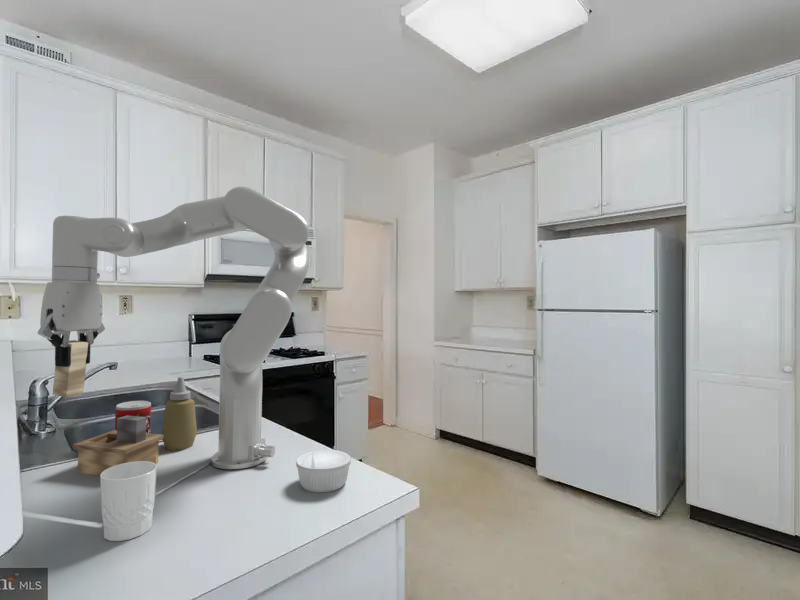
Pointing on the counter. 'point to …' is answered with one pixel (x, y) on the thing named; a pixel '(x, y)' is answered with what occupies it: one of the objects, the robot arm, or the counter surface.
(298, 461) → the ramekin
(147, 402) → the canned food
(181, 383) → the squeeze bottle
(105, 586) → the counter surface
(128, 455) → the toolbox
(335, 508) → the counter surface
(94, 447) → the wooden frame
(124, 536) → the white cup
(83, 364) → the wooden block
